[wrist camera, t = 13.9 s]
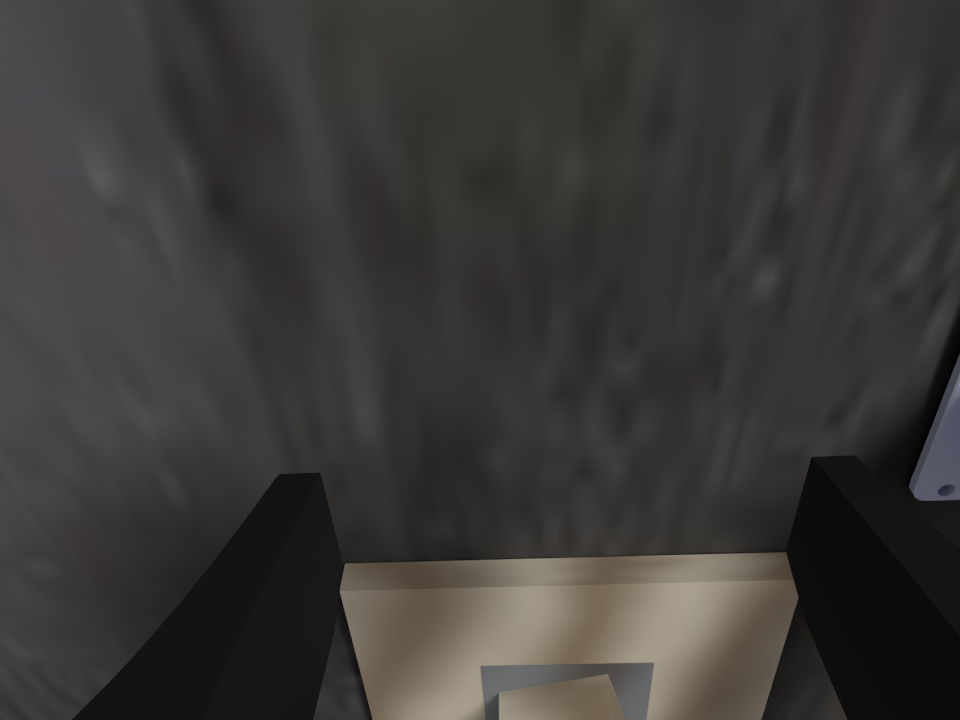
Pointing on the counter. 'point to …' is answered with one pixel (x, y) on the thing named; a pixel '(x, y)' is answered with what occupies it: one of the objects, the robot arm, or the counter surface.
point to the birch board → (571, 632)
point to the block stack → (563, 701)
